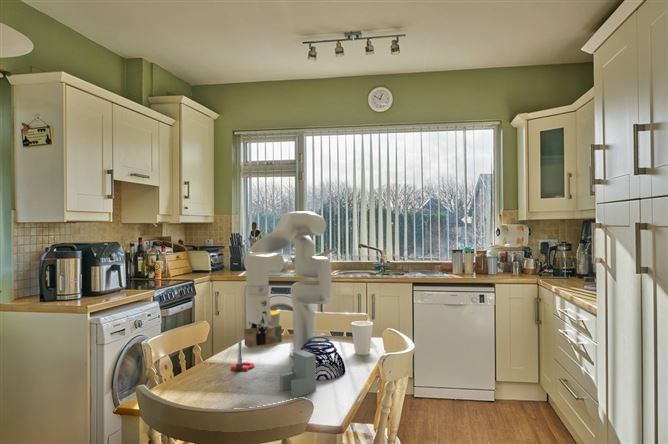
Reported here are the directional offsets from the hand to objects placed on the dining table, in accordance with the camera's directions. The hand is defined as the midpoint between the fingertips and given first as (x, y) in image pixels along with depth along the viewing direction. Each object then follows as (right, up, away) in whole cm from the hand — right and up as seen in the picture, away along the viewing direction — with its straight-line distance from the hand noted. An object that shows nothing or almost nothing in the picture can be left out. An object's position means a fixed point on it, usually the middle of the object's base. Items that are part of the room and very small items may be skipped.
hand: (257, 342), depth 155 cm
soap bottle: (-6, -16, +59) cm, 62 cm away
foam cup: (+39, -16, +42) cm, 59 cm away
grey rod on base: (-10, -16, +23) cm, 30 cm away
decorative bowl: (+20, -16, +17) cm, 31 cm away
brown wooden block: (+2, -1, +1) cm, 2 cm away
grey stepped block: (+14, -15, -3) cm, 21 cm away
